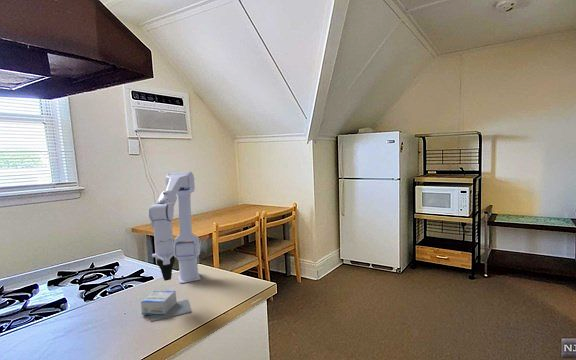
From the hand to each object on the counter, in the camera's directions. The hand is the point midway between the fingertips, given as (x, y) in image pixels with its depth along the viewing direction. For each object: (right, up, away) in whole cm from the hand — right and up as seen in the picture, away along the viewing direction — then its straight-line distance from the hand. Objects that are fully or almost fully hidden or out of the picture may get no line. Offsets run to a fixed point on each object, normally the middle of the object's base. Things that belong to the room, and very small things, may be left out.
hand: (167, 279), depth 109 cm
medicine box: (-2, -7, +3) cm, 8 cm away
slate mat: (+2, -10, -2) cm, 10 cm away
